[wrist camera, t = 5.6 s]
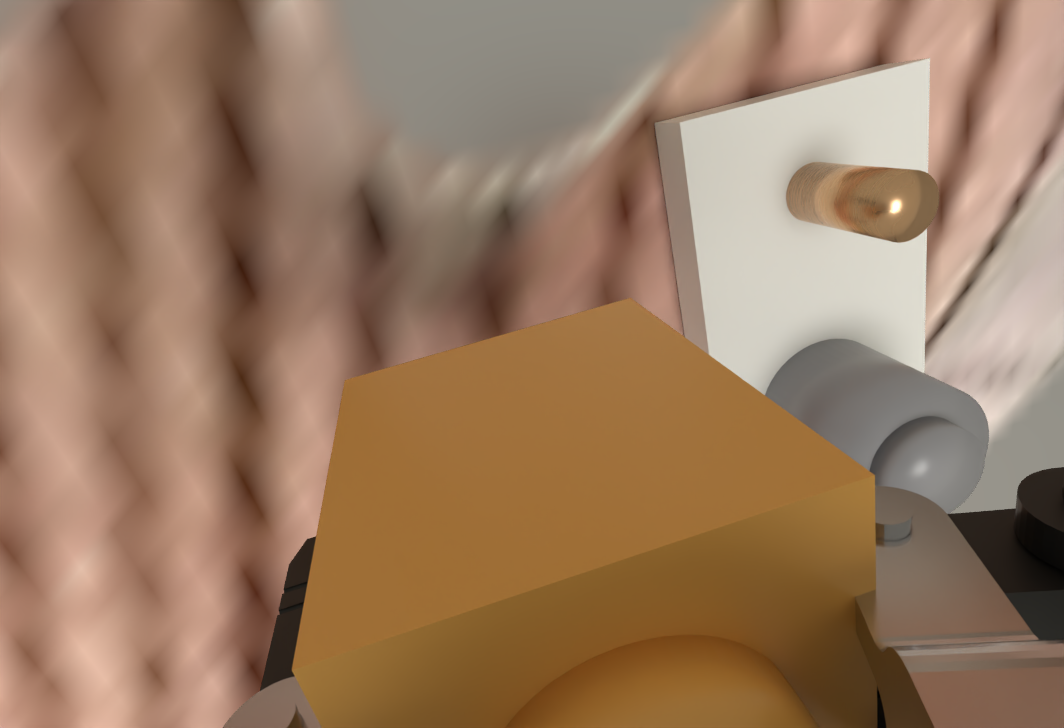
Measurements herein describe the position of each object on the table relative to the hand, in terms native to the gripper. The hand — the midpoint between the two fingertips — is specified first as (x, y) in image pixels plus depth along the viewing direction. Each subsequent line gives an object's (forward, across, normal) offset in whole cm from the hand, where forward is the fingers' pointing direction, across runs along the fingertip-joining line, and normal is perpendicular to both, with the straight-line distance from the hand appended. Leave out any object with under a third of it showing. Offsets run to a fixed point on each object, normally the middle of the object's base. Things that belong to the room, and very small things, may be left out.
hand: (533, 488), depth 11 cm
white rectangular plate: (+11, -11, +3) cm, 16 cm away
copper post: (+9, -11, -1) cm, 15 cm away
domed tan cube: (+1, 0, 0) cm, 1 cm away
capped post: (+9, -11, +6) cm, 16 cm away
